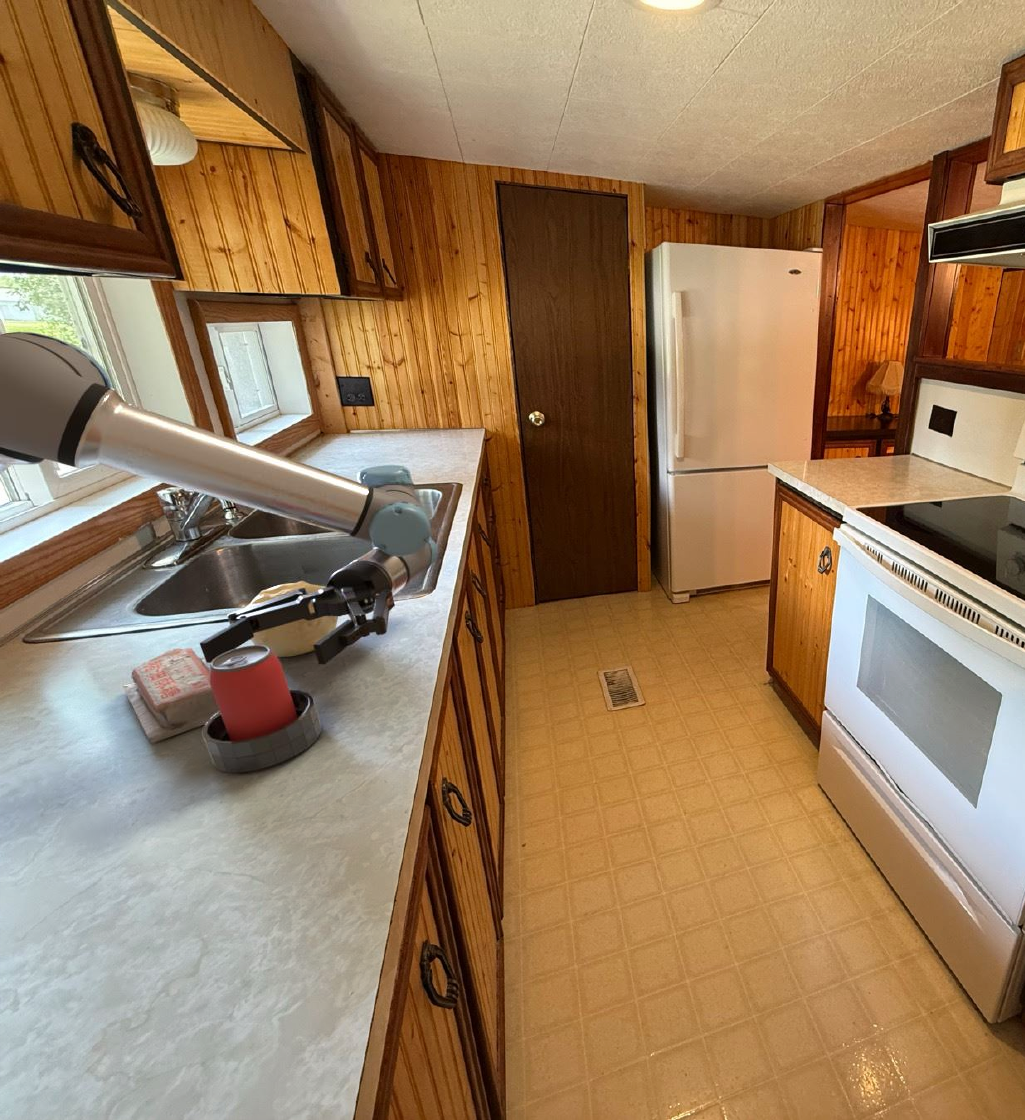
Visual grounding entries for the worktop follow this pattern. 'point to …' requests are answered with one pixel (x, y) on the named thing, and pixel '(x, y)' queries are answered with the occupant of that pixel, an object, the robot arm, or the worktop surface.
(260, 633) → the sculpture
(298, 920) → the worktop surface
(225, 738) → the bowl
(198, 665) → the packaged product
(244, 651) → the beer can
